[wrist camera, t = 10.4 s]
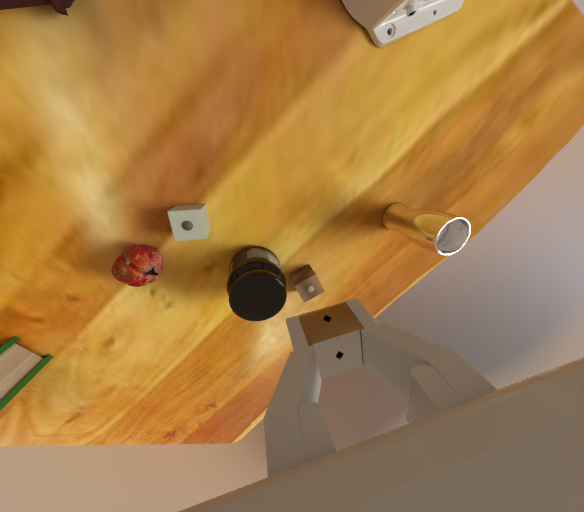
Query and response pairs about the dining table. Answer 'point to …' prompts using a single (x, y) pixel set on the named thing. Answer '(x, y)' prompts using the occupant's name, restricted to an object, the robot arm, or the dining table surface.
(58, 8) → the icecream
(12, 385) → the hardback book
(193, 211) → the sage cube
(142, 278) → the pomegranate
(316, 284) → the walnut cube
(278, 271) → the supplement container
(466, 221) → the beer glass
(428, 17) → the robot arm
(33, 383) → the dining table surface
